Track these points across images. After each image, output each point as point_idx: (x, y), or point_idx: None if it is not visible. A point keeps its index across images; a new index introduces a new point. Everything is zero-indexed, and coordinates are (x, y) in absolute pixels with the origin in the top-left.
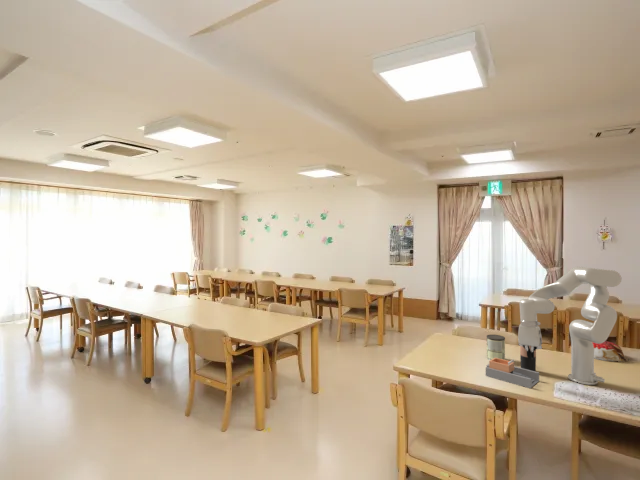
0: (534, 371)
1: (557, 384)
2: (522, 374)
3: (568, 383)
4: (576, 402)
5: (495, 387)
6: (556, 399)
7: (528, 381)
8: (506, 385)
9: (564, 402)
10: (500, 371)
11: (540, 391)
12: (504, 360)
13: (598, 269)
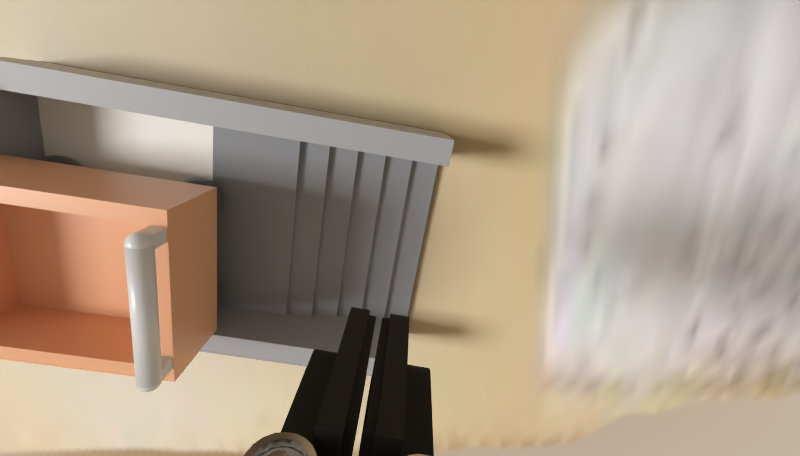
0: (406, 137)
1: (586, 116)
2: (300, 141)
3: (687, 16)
4: (666, 386)
5: (218, 438)
6: (558, 408)
7: None
8: (259, 372)
9: (598, 423)
10: None
11: (467, 344)
12: (42, 207)
13: None
